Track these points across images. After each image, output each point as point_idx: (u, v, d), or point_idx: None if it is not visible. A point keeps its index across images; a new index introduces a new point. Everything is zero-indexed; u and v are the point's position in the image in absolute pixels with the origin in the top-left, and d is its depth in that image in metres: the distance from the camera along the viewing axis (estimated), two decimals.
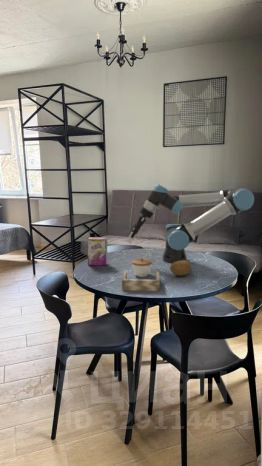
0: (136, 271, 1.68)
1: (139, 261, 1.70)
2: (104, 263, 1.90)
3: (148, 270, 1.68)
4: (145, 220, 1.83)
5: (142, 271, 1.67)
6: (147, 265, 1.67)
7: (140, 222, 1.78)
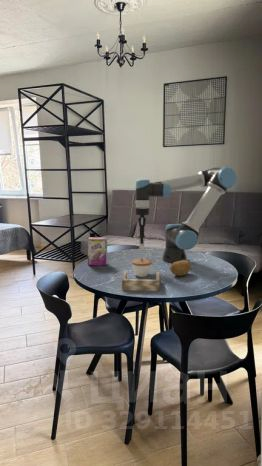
0: (136, 271, 1.68)
1: (139, 261, 1.70)
2: (104, 263, 1.90)
3: (148, 270, 1.68)
4: (145, 219, 1.77)
5: (142, 271, 1.67)
6: (147, 265, 1.67)
7: (141, 227, 1.75)
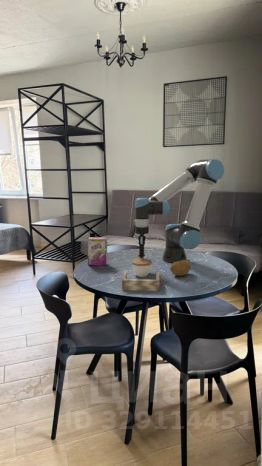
0: (136, 271, 1.68)
1: (139, 261, 1.70)
2: (104, 263, 1.90)
3: (148, 270, 1.68)
4: None
5: (142, 271, 1.67)
6: (147, 265, 1.67)
7: (141, 246, 1.73)
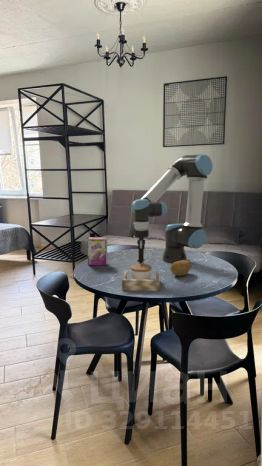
0: (135, 277, 1.57)
1: (138, 267, 1.59)
2: (104, 263, 1.90)
3: (148, 276, 1.58)
4: (144, 242, 1.64)
5: (141, 277, 1.56)
6: (147, 271, 1.56)
7: (140, 250, 1.62)
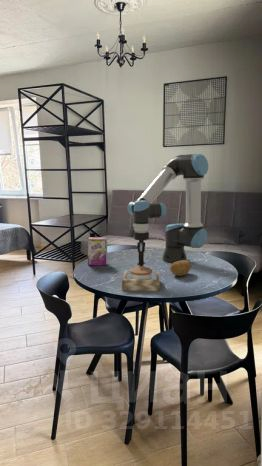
0: None
1: (138, 270, 1.54)
2: (104, 263, 1.90)
3: None
4: (144, 245, 1.59)
5: None
6: (147, 274, 1.51)
7: (140, 253, 1.57)
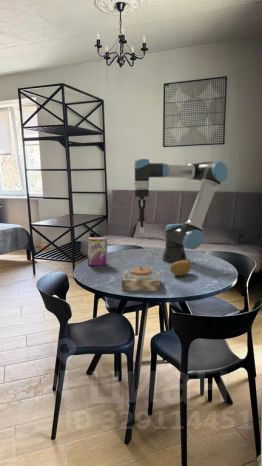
0: None
1: (138, 270, 1.54)
2: (104, 263, 1.90)
3: None
4: (145, 201, 1.68)
5: None
6: (147, 275, 1.51)
7: (141, 209, 1.65)
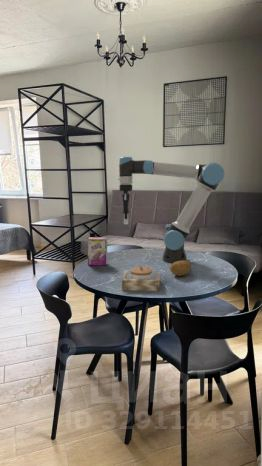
0: None
1: (138, 270, 1.54)
2: (104, 263, 1.90)
3: None
4: (128, 195, 1.85)
5: None
6: (147, 275, 1.51)
7: (125, 202, 1.83)
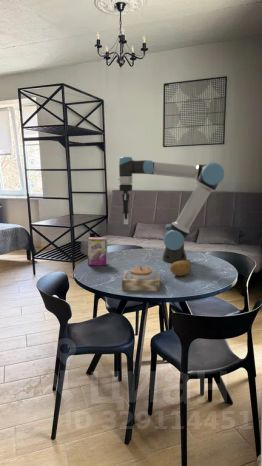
0: None
1: (138, 270, 1.54)
2: (104, 263, 1.90)
3: None
4: (128, 195, 1.85)
5: None
6: (147, 275, 1.51)
7: (124, 202, 1.83)
